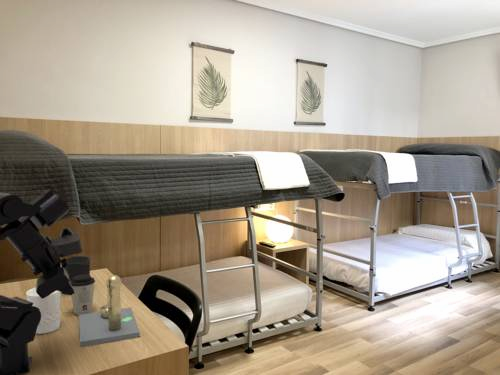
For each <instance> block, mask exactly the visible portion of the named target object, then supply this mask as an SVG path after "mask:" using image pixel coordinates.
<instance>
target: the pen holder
mask: <svg viewBox="0 0 500 375" xmlns="http://www.w3.org/2000/svg"><path fill="white" fill-rule="evenodd" d="M90 259H91V258H90V257H88V256H84V255H77V256H76V255H75V256H71V257H68V258H66V260H67V266H68V275H69V280H72V278H73V277H74V276H77V275H81V274H89V275H90V276H91V273H90V272H91V268H90V267H91V260H90ZM61 294H64V295H66V294H65V293H63V292H61Z"/></svg>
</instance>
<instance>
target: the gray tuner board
mask: <svg viewBox="0 0 500 375" xmlns="http://www.w3.org/2000/svg"><path fill="white" fill-rule="evenodd" d="M78 316H79V317H78V318H79V321H78V322H79V347H80V348H81V347H87V346H92V345H99V344H105V343H111V342H118V341H123V340H129V339H136V338H140V337H141V336H140V335H141V332H140V330H139V327H138V323H137V320H136V319H135V315H134V311H133V309H132V307H126V308H125V307H124V308H121V328H119V329H116V330H110V329H109V326H108V318H103V317H101V311H97V312H90V313H88V314H81V315H78Z"/></svg>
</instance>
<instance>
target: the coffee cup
mask: <svg viewBox="0 0 500 375" xmlns="http://www.w3.org/2000/svg"><path fill="white" fill-rule="evenodd" d="M70 282H71V284H72V287H73V289H74V292H75V293H74V294H72V295H70V296H71V301H72V302H71V303H72V307H73V313H74V314H75V315H77V316H79V315H81V314H88V313H92V311H93V303H94V302H93V301H94V292H95V290H94V289H95V283H96V280H95V277H91V274H90V275H89V274H81V275H77V276H74V277H73V278H72V280H70Z"/></svg>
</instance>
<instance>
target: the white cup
mask: <svg viewBox="0 0 500 375" xmlns="http://www.w3.org/2000/svg"><path fill="white" fill-rule="evenodd" d="M25 295H26V300H27V301H30V302H32V303H34V304H33V305H32V306H35V307H37V308H39V309H40V312H41V321H40V323H39V325H38V327H37V330H36V334H37V335H44V334H49V333H52V332H55V331H57V330H58V329H59V328H61V327H60V326H61V316H62V315H61V314H62V312H61V310H62V292H60V291H57V290H56V291H55V292H53V293H52V294H50V295H49V296H47V297H45V298H41V297H40V296H39V295H38V294H37V293H36V287H32V288H31V289H29V290H27V291H26V294H25ZM36 334H35V335H36Z"/></svg>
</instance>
